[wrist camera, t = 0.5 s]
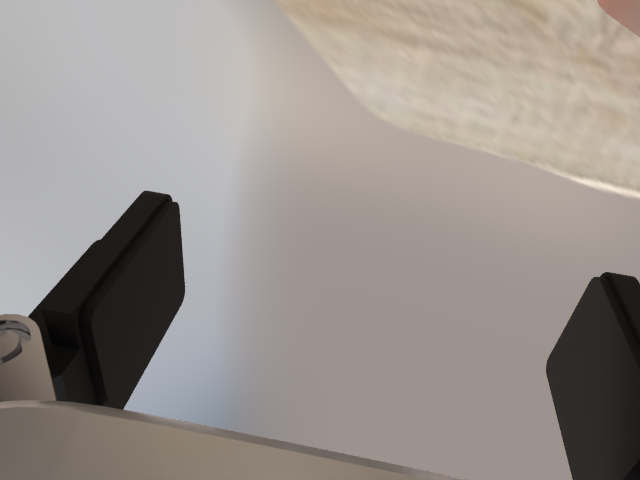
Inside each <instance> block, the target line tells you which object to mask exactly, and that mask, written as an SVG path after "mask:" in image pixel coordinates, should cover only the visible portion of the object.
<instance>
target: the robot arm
mask: <svg viewBox="0 0 640 480" xmlns="http://www.w3.org/2000/svg"><path fill="white" fill-rule="evenodd" d="M182 254H183V253H182V239H181V224H180V211H179V205H178V203H177V202H172V198H171V196H170V195H168V194H162V193H156V192H151V191H144V192H142V193H141V194H140V196H139V197H138V198H137V199H136V200H135V201H134V202H133V204H132V205H131V206H130V207H129V208H128V209H127V210H126V212H125V213H124V214H123V215H122V216H121V217H120V219H119V220H118V221H117V222H116V223H115V224H114V225H113V226H112V228H111V229H110V230H109V231H108V232H107V233H106V234H105V236H104V237H103V238H102V239H101V240H97V241H96V242H94V243H93V244H92V245H91V246H90V247H89V248H88V250H87V251H86V252H85V253H84V254H83V255H82V256H81V257H80V259H79V260H78V261H77V262H76V263H75V264H74V265H73V267H72V268H71V269H70V270H69V271H68V272H67V273H66V274H65V276H64V277H63V278H62V279H61V280H60V281H59V283H57V285H56V286H55V287H54V288H53V289H52V290H51V291H50V293H49V294H48V295H47V296H46V297H45V298H44V299H43V300H42V301H41V303H40V304H39V305H38V306H37V307H36V308H35V309H34V311H33V312H32V313H31V314H30V315H29V316H28V317H25V316H22V315H18V314H4V315H0V480H467V479H463V478H458V477H453V476H449V475H444V474H439V473H435V472H430V471H425V470H420V469H415V468H411V467H406V466H401V465H396V464H391V463H387V462H382V461H377V460H372V459H367V458H363V457H358V456H353V455H347V454H343V453H338V452H334V451H329V450H324V449H319V448H314V447H309V446H304V445H299V444H295V443H290V442H285V441H280V440H275V439H270V438H265V437H260V436H255V435H250V434H245V433H240V432H235V431H230V430H225V429H220V428H216V427H210V426H205V425H201V424H195V423H191V422H186V421H181V420H175V419H170V418H164V417H159V416H154V415H148V414H143V413H138V412H132V411H127V410H123V409H124V407H125V405H126V403H127V402H128V400H129V398H130V396H131V394H132V393H133V391H134V389H135V387H136V385H137V384H138V382H139V380H140V378H141V376H142V375H143V373H144V371H145V369H146V367H147V366H148V364H149V362H150V360H151V358H152V356H153V355H154V353H155V351H156V349H157V348H158V346H159V344H160V342H161V340H162V339H163V337H164V335H165V333H166V331H167V330H168V328H169V326H170V324H171V322H172V321H173V319H174V317H175V315H176V313H177V312H178V310H179V308H180V306H181V304H182V302H183V299H184V295H185V282H184V267H183V255H182ZM546 373H547V378H548V382H549V386H550V390H551V394H552V398H553V402H554V406H555V410H556V414H557V418H558V422H559V426H560V430H561V434H562V438H563V442H564V446H565V450H566V454H567V458H568V462H569V466H570V470H571V474H572V478H573V480H640V284H639V282H638V280H637V279H636V278H635V277H633V276H627V275H621V274H616V273H610V272H605V273H603V274H602V275H601V276H600V277H594V278H593V279H592V280H591V281H590V283H589V284H588V287H587V288H586V290H585V292H584V294H583V296H582V297H581V299H580V301H579V303H578V305H577V306H576V308H575V310H574V312H573V314H572V316H571V317H570V319H569V321H568V323H567V325H566V327H565V329H564V330H563V332H562V334H561V336H560V338H559V339H558V341H557V344H556V345H555V347H554V349H553V351H552V352H551V354H550V356H549V358H548V361H547V365H546Z"/></svg>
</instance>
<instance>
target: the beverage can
mask: <svg viewBox="0 0 640 480" xmlns="http://www.w3.org/2000/svg"><path fill="white" fill-rule="evenodd" d="M597 1H598V3H599V5H600V6H601V8H602V9H603V10H604V11H605V12H606V13H607V14H609V15H610V16H611V17H613V18H614V19H615V20H617V21H618V22H620V23H621V24H622V25H624V26H625V27H626V28H628V29H629V30H631V31H632V32H633V33H635V34H636V35H637V36H639V37H640V0H597Z"/></svg>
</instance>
